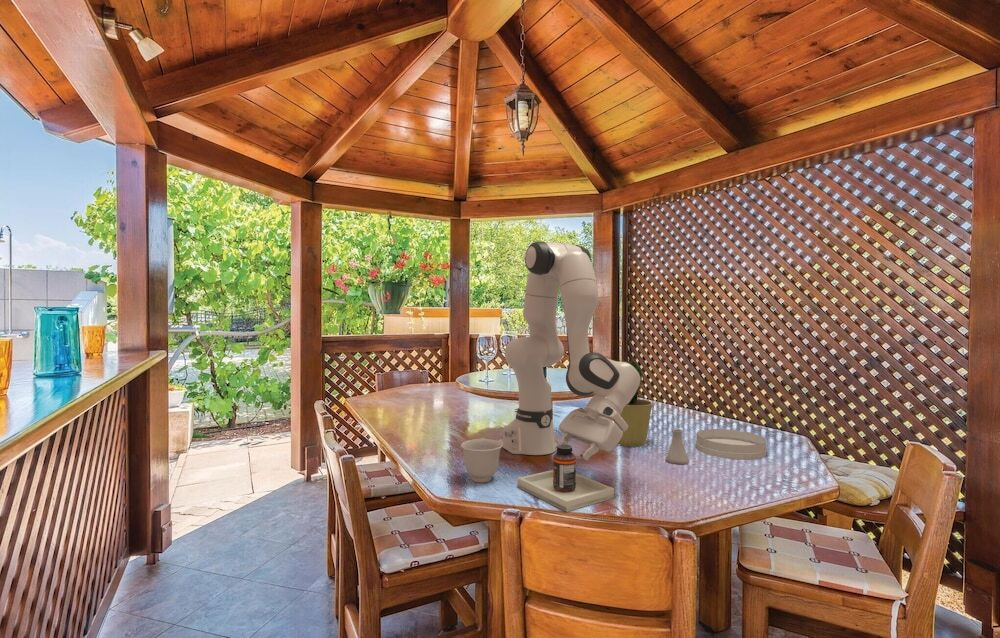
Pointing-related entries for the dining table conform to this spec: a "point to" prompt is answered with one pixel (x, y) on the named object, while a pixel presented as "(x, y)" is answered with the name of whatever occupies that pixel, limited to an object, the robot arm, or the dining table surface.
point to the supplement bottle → (564, 469)
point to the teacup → (481, 458)
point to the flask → (677, 449)
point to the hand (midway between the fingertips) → (572, 453)
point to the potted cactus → (636, 417)
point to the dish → (731, 444)
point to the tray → (567, 501)
